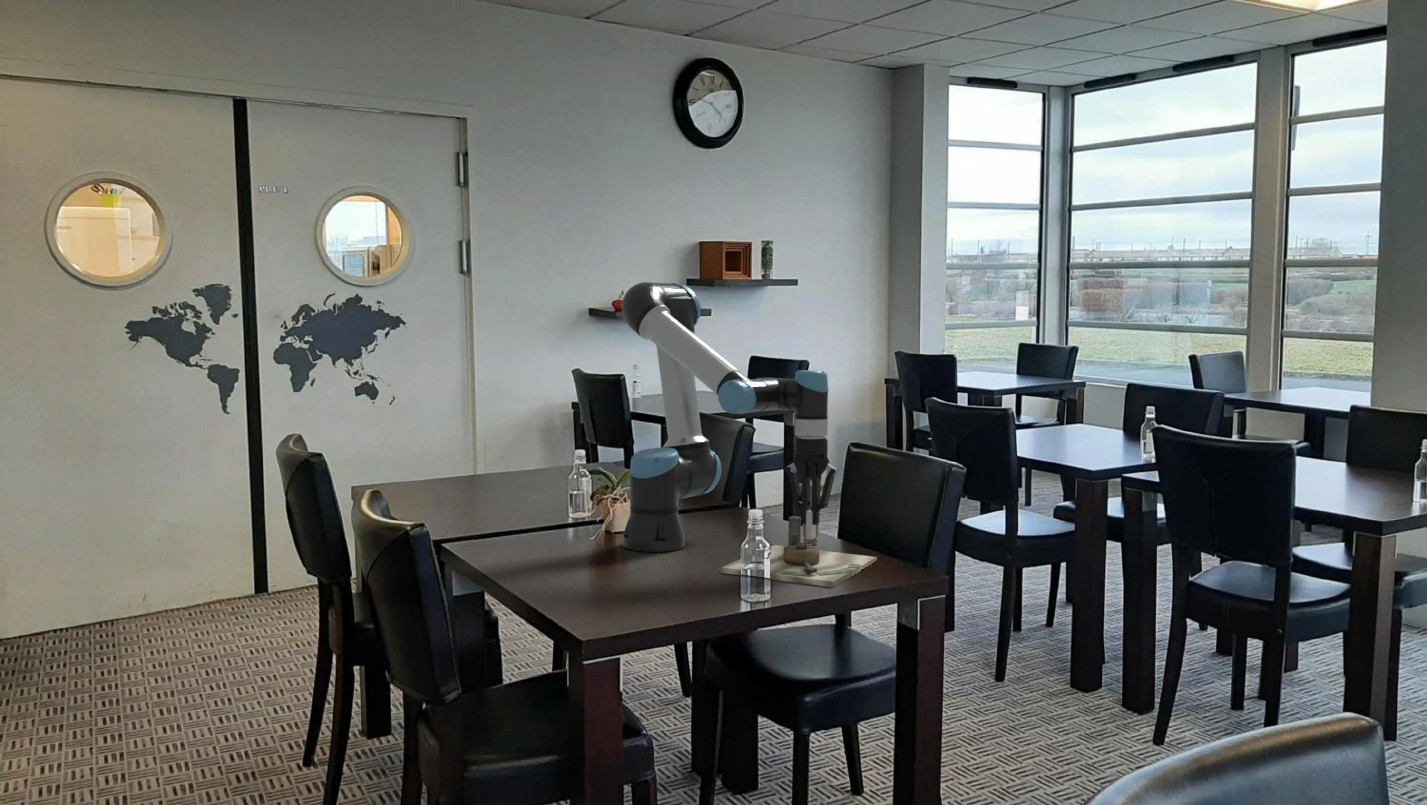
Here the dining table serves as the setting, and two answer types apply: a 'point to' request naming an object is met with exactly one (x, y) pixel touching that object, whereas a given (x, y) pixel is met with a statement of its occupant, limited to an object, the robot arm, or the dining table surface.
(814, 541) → the handle
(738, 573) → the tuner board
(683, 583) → the dining table surface
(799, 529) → the brown handled round piece
